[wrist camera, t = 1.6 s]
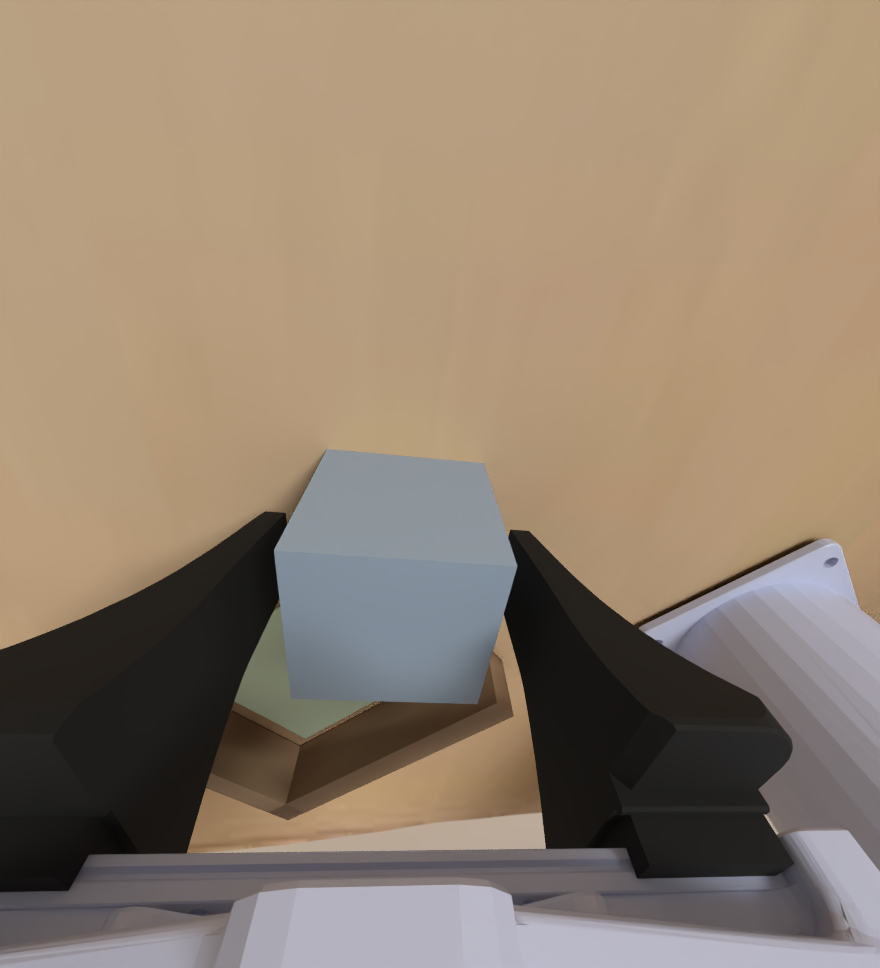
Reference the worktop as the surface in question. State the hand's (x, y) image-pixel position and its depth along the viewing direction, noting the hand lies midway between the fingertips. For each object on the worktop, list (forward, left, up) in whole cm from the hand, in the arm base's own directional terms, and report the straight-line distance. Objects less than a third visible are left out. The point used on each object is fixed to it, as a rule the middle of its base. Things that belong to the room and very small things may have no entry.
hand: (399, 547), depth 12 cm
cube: (0, 0, -2) cm, 2 cm away
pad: (-4, +9, -1) cm, 10 cm away
